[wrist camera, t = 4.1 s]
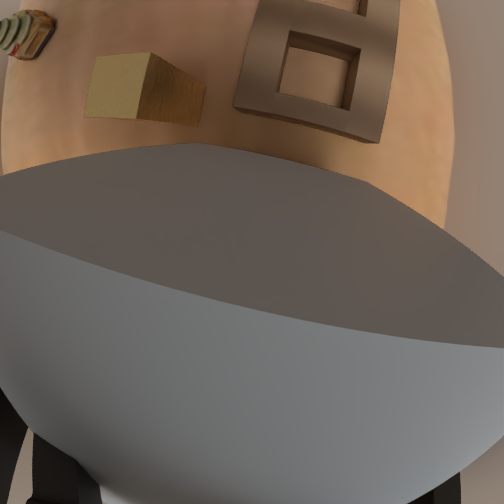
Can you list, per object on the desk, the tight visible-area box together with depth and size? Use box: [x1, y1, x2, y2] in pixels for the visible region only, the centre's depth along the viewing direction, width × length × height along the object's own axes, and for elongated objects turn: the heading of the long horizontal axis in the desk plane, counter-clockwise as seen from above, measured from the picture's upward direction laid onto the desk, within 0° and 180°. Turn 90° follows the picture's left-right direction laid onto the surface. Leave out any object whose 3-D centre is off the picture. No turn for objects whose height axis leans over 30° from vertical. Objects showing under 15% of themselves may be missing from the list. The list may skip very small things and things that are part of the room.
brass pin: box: [84, 52, 206, 127], centre depth 15 cm, size 4×4×10 cm
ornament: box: [0, 10, 54, 61], centre depth 12 cm, size 8×6×10 cm
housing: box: [0, 143, 504, 504], centre depth 10 cm, size 14×9×13 cm, turn 168°
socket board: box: [233, 0, 400, 143], centre depth 15 cm, size 16×10×4 cm, turn 168°
